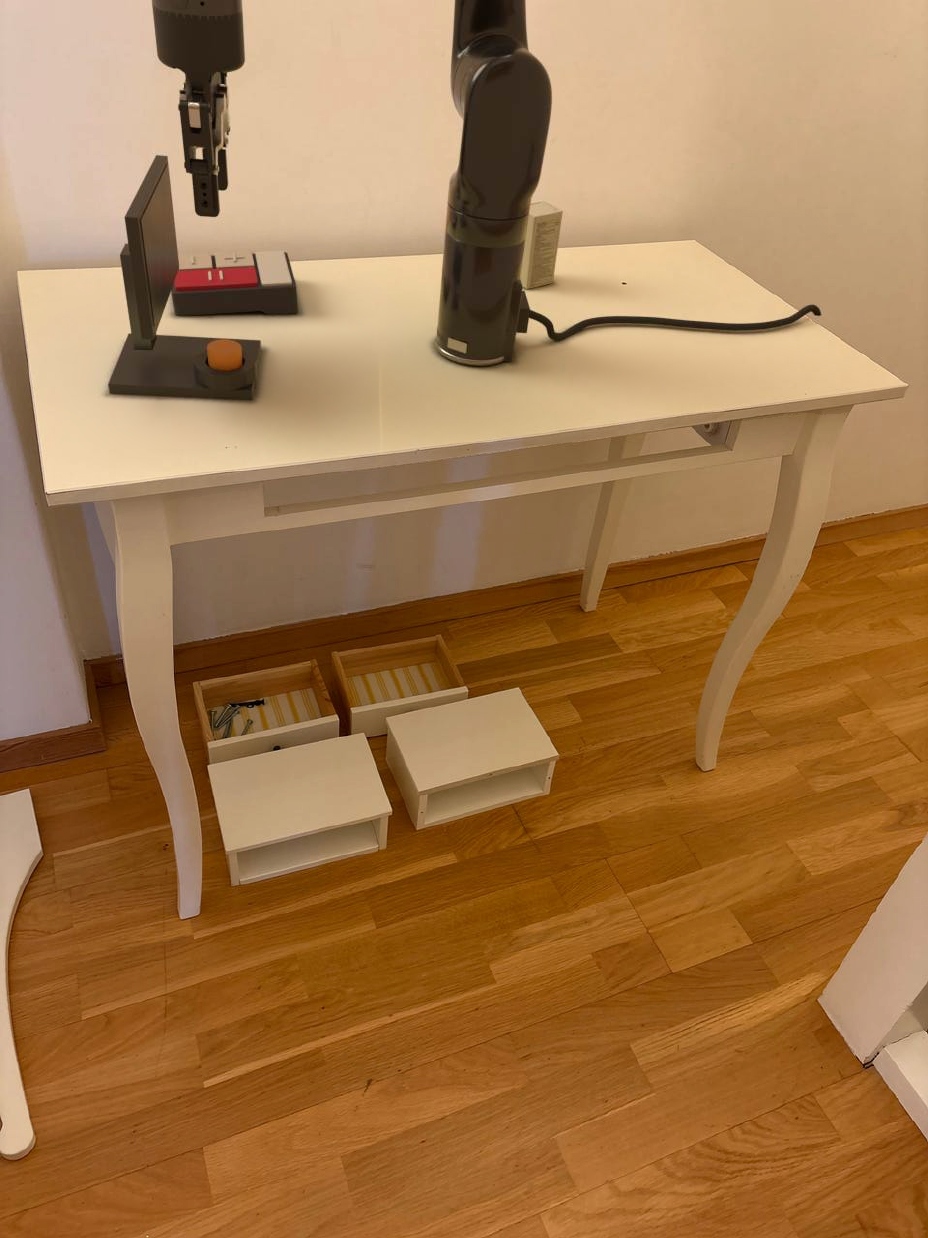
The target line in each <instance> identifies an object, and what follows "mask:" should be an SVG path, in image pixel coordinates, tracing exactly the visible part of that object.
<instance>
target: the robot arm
mask: <svg viewBox="0 0 928 1238" xmlns="http://www.w3.org/2000/svg"><path fill="white" fill-rule="evenodd" d="M526 1H527V0H454V6H453V7H454V9H453V11H454V12H453V24H452V25H453V28H452V42H451V43H452V44H451V60H450V75H449V76H450V77H449V79H450V81H449V84H450V85H449V87H450V95H451V97H452V102H453V105H454V108H455V110H456V112H457V113H458V115H459V116H460V118H461V119H462V120H463V121H462V129H461V130H462V132H461V141H460V150H459V158H458V165H457V169H456V170H455V171H454V172H453V173H452V174H451V176H450V178H449V183H448V190H447V191H448V192H447V193H448V195H447V205H446V216H445V227H444V228H445V230H444V231H445V232H444V240H443V241H444V242H443V244H444V245H443V252H442V266H441V278H440V279H441V280H440V290H439V301H438V302H439V303H438V315H437V316H438V317H437V327H436V336H435V343H434V344H435V345H434V346H435V349H436V351H437V352H438V353H439V354H440V355H441V356H442V357H444V358H446V359H448V360H450V361H453V362H455V363H459V364H462V365H468V366H477V367H478V366H479V367H480V366H481V367H482V366H483V367H484V366H493V365H496V364H500V363H502V362H513V359H514V352H515V346H516V338H517V334H528V327H529V321H530V319H531V320H533V321H536V322H538V323H539V324H541V325H543V326H544V328H545V329H546V334H547V337H548V338H549V339H550V340H552V341H556V342H558V341H560V342H561V341H563V340H566V339H568V338H570V337H571V336H573V335H575V334H577V333H578V332H580V331H582V330H583V329H585V328H588V327H592V326H599V325H612V324H613V325H614V324H627V325H629V324H631V325H632V324H633V325H654V326H664V327H665V326H666V327H673V328H684V329H698V330H699V329H700V330H711V331H730V332H745V331H746V332H747V331H762V330H770V329H775V328H780V327H784V326H788V325H791V324H794V323H796V322H797V321H799V320H800V319H802V318H803V317H804V316H806V315H807V314H809V313H812V314H813V315H814V316H816V317H820V316H822V312H821V309H820V308H819V307H818V306H817V305H815V304H808V305H805V306H803V307H802V308H801V309H799V310H798V311H796V312H794V313H793V314H792V315H790V316H787V317H784V318H779V319H775V320H770V321H764V322H763V321H762V322H747V323H745V322H744V323H741V322H740V323H736V322H735V323H733V322H717V321H702V320H689V319H677V318H670V317H669V318H667V317H660V316H659V317H658V316H639V315H606V316H597V317H590V318H587V319H586V318H585V319H584V320H580V321H579V322H577V323H575V324H573V325H572V326H570V327H569V328H567V329H566V330H564V331H562V332H556V331H555V327H554V323H553V321H552V320H550V318H548V317H547V316H545V315H544V314H541V313H539V312H537V311H534V310H532V309H531V308H530V304H529V300H528V297H527V294H526V291H525V290H524V287H523V286H522V282H521V278H520V276H521V269H522V261H523V254H524V247H525V239H526V232H527V225H528V217H529V210H530V204H532V198H533V196H534V194H535V192H536V190H537V188H538V186H539V183H540V179H541V177H542V170H543V165H544V160H545V153H546V147H547V141H548V136H549V131H550V124H551V118H552V109H553V107H552V106H553V87H552V82H551V79H550V75H549V73H548V71H547V69H546V67H545V65H544V64H543V63H542V62H541V61H540V60H539V59H538V58H537V56H535V55H534V54H533V53H532V52H530V49H529V42H528V31H527V30H528V29H527V27H528V26H527V6H526V5H527V4H526V3H527V2H526ZM151 7H152V8H151V9H152V16H153V25H154V26H153V27H154V35H155V46H156V54H157V59H158V60H159V61H160V63H162V65H164V66H166V67H167V68H170V69H175V70H176V69H177V70H179V71H181V72H182V73H184V77H185V80H184V82H183V84H182V89H179V90H178V100H179V101H178V105H177V110H178V112H179V118H180V127H181V129H180V130H181V138H182V148H183V156H184V157H183V158H184V162H183V168H184V169H185V173H187V174H189V175H191V181H192V194H193V203H194V204H193V205H194V213H195V214H196V215H197V216H198V217H203V218H204V217H205V218H206V217H207V218H217V217H218V216H219V215H220V212H221V206H220V205H221V203H220V192H219V191H226V190H227V189H228V187H229V172H228V158H227V157H228V156H227V149H228V145H229V141H230V140H229V137H228V136H229V135H230V132H231V125H230V122H231V117H230V116H231V115H230V109H229V104H230V89H229V86H228V84H227V83H228V82H227V78H228V73H233V72H235V71H239V70H240V69H241V68H243V66H244V65H245V62H246V53H245V30H244V13H243V0H151ZM197 149H201V151H202V152H201V154H202V158H197Z"/></svg>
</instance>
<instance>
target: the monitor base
mask: <svg viewBox="0 0 928 1238" xmlns="http://www.w3.org/2000/svg"><path fill="white" fill-rule="evenodd" d="M156 335H157V339H156V342H155V344H154V347H153V350H134V348H133V342H132V335H131V332H129V333H127V335H126V338H125V341H124V343H123V346H122V349H121V351H120V354H119V357H118V358H117V361H116V364H115V366H114V368H113V371H112V373H111V376H110V379H109V381H108V383H107V386H108V391H109V392H108V393H109V394H110V395H125V396H127V395H129V396H149V397H150V396H151V397H170V398H171V397H172V398H173V397H174V398H191V399H192V398H196V399H213V400H214V399H215V400H216V399H217V400H239V401H253V398H254V394H255V388H256V381H257V376H258V370H259V364H260V359H261V353H262V341H261V340H259V339H244V338H243V339H242V338H227V337H226V338H223V337H207V336H206V337H205V336H186V335H168V334H156ZM221 339H226V340H233V341H236V342H238V343H239V344H240V345H241V350H242V366H241V367H240V368H238V369H234V370H229V371H227V370H216V369H214V368H211V367H209V364H208V354H207V345H208V344H209V343H210V342H212V341H215V340H221Z"/></svg>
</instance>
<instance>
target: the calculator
mask: <svg viewBox="0 0 928 1238" xmlns="http://www.w3.org/2000/svg"><path fill="white" fill-rule="evenodd" d="M178 259H179V270H178V273H177V276H176V278H175V281H174V284H173V287H172V290H171V292H170V295H171V300H172V306H173V311H174V315H175V316H176V317H184V316H186V317H187V316H202V315H203V316H204V315H216V314H217V315H218V314H231V313H248V312H262V313H264V314H266V315H269V316H273V315H274V316H276V315H289V314H292V315H293V314H297V313H298V312H299V306H298V305H299V304H298V291H297V284H296V280H295V276H294V273H293V269H292V265H291V261H290V258H289V254H288V252H286V251H284V250H265V251H264V250H263V251H256V252H255V253H253V252H252V250H238V251H237V250H236V251H217V252H214V255H212V253H211V252H197V253H196V252H195V253H178Z"/></svg>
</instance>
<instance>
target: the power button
mask: <svg viewBox="0 0 928 1238" xmlns="http://www.w3.org/2000/svg"><path fill="white" fill-rule="evenodd" d="M226 339H227V338H226ZM226 339H221V340H215V341H212V342H210V343H209V344H208V345H207V354H208V364H209V367H211V368H214V369H216V370H227V371H229V370H234V369H238V368H240V367H241V366H242V350H241V345H240V344H239V343H238V342H236V341H233V340H226Z"/></svg>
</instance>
